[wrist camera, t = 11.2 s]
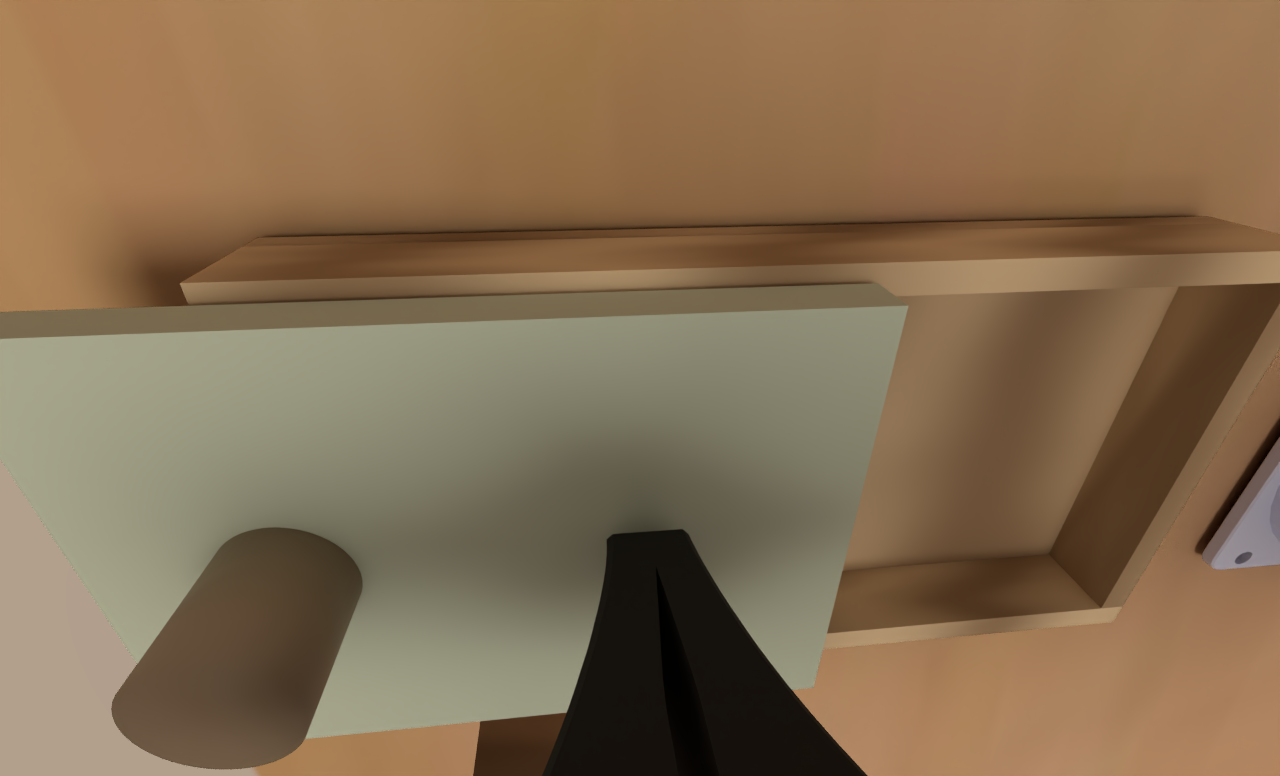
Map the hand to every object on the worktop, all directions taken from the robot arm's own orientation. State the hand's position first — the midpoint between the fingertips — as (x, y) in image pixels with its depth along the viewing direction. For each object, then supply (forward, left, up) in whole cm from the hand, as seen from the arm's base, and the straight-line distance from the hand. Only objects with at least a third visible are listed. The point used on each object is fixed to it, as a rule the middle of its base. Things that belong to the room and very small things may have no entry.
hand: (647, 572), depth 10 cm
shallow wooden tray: (-3, 0, -4) cm, 5 cm away
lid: (+3, 0, -1) cm, 3 cm away
